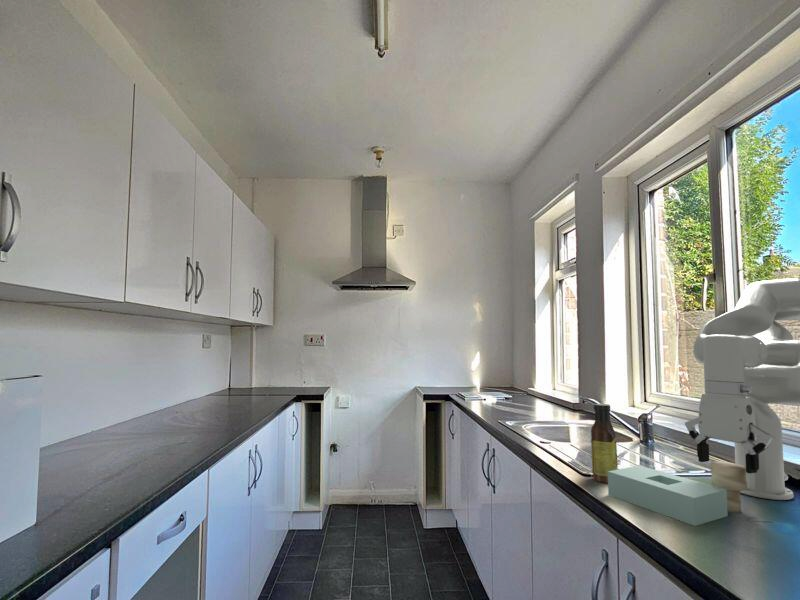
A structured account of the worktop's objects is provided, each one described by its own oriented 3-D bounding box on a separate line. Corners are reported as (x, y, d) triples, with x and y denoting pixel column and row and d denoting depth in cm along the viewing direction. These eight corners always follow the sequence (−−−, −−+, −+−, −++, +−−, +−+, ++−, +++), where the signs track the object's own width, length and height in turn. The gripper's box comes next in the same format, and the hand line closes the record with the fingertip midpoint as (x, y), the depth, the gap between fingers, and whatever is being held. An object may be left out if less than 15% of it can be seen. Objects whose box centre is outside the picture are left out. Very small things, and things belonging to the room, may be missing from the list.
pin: (722, 502, 105) (720, 460, 106) (754, 511, 99) (752, 467, 100) (706, 506, 102) (704, 463, 103) (738, 516, 96) (736, 471, 97)
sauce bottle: (622, 484, 117) (621, 406, 118) (599, 484, 116) (598, 406, 118) (609, 476, 123) (607, 402, 125) (587, 476, 123) (586, 402, 124)
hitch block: (640, 487, 114) (639, 465, 115) (727, 516, 97) (726, 489, 97) (608, 494, 109) (607, 471, 109) (695, 526, 91) (694, 497, 91)
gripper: (778, 393, 97) (782, 475, 95) (694, 385, 112) (696, 456, 110) (760, 393, 93) (763, 479, 92) (676, 385, 109) (677, 458, 107)
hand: (726, 466), depth 101 cm, fingers open, 9 cm apart
